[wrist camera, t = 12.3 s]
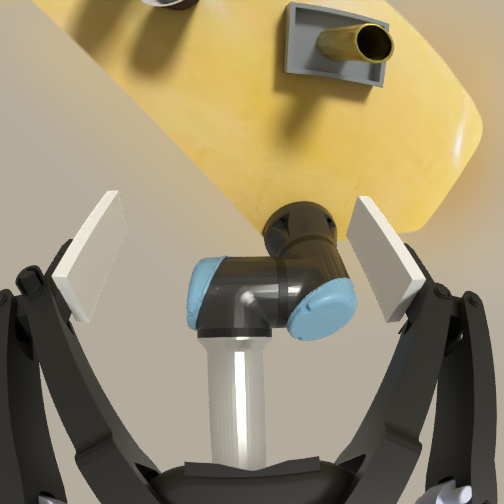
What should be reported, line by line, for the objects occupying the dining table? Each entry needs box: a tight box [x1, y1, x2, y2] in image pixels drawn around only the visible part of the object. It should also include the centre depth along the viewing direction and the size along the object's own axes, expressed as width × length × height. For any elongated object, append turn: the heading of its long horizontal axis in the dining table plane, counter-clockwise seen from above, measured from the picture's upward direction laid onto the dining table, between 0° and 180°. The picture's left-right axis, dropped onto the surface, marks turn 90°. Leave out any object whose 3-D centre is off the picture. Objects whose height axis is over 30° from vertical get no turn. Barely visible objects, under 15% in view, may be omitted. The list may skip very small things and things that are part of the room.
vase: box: [317, 23, 394, 63], centre depth 27 cm, size 6×6×14 cm
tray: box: [283, 2, 389, 88], centre depth 32 cm, size 12×16×4 cm
